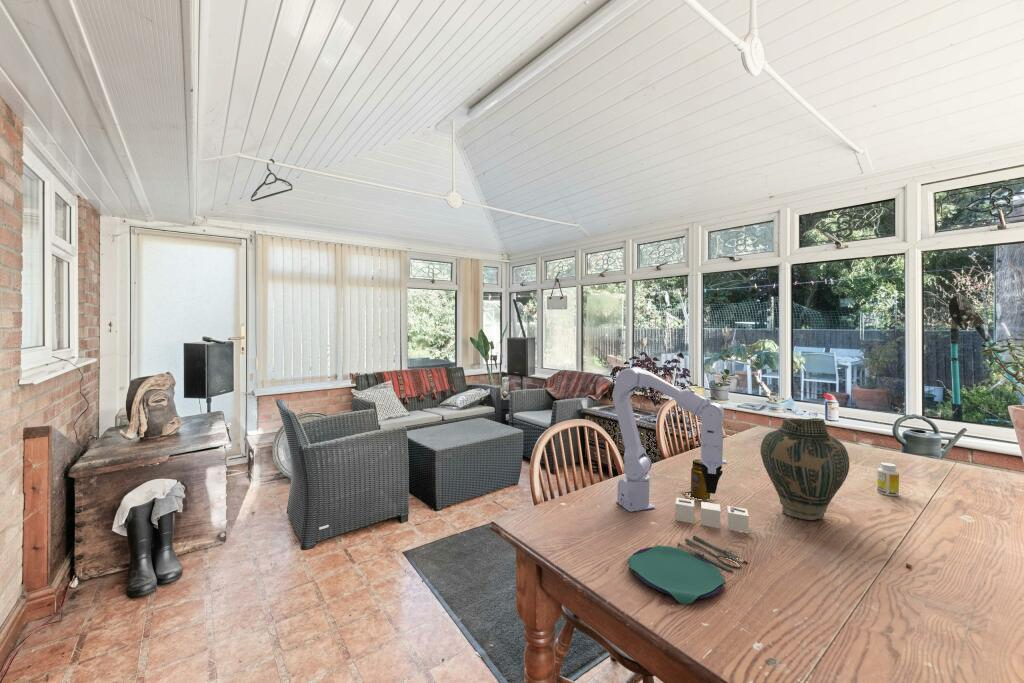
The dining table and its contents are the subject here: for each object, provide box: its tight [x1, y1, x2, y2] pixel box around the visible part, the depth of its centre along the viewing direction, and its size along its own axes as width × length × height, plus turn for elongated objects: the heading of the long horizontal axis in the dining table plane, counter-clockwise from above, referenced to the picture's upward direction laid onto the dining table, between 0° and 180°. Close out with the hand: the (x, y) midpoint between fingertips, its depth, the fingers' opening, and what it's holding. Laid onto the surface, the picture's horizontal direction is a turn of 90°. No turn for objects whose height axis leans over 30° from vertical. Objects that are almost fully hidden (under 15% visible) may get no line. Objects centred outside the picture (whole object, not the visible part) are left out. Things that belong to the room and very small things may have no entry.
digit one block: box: [674, 497, 695, 524], centre depth 124 cm, size 5×5×5 cm
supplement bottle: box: [876, 462, 900, 497], centre depth 143 cm, size 6×6×10 cm
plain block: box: [700, 501, 722, 529], centre depth 121 cm, size 5×5×5 cm
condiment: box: [680, 458, 717, 502], centre depth 140 cm, size 7×8×12 cm
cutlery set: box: [627, 535, 742, 605], centre depth 97 cm, size 20×30×2 cm, turn 123°
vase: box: [760, 417, 850, 521], centre depth 126 cm, size 22×22×30 cm
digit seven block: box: [726, 505, 750, 533], centre depth 118 cm, size 5×5×5 cm
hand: (710, 490), depth 120 cm, fingers open, 3 cm apart
